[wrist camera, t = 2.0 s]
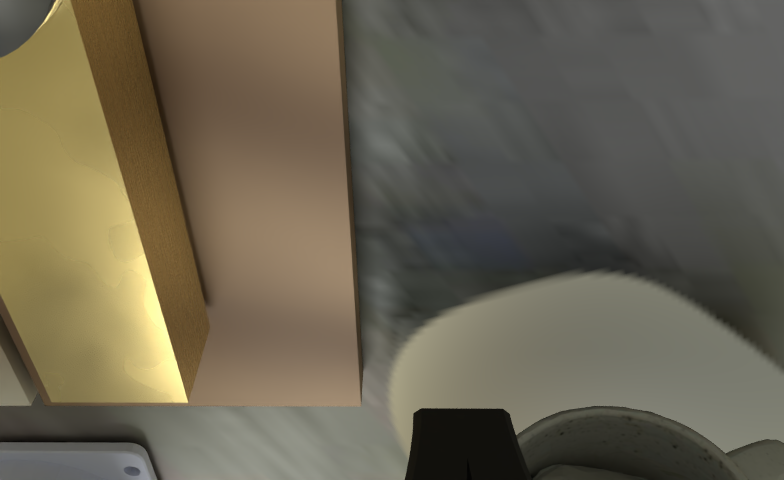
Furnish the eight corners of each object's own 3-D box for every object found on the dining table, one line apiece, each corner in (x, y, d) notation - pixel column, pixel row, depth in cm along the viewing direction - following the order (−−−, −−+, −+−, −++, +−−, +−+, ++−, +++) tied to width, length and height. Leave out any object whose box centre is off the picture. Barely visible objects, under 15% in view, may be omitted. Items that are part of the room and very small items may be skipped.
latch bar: (-163, -262, 10) (-329, -240, 8) (90, -266, 10) (-5, -245, 8) (75, 327, 18) (25, 428, 15) (222, 326, 18) (194, 429, 15)
